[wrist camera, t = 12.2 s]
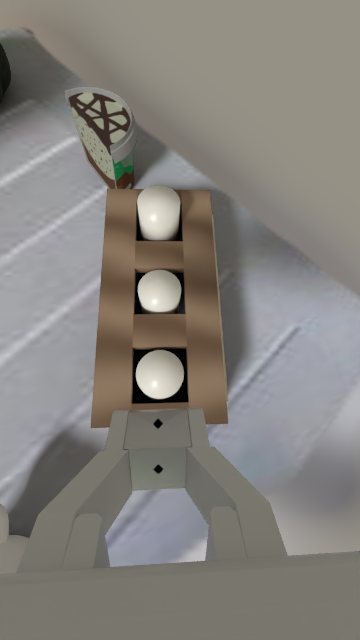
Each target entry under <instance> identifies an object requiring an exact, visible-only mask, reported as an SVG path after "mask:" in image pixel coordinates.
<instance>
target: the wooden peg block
mask: <svg viewBox="0 0 360 640" xmlns="http://www.w3.org/2000/svg"><path fill="white" fill-rule="evenodd" d="M143 190H144V189H107V201H106V215H105V229H104V244H103V258H102V272H101V287H100V301H99V316H98V330H97V344H96V359H95V373H94V387H93V402H92V416H91V428H106V427H110V423H111V419H112V414H113V412H114V410H158V409H183V408H202V409H203V413H204V418H205V424H228V416H227V403H226V390H225V378H224V365H223V352H222V339H221V327H220V314H219V301H218V288H217V276H216V263H215V250H214V237H213V225H212V212H211V199H210V190H174V191H175V192H176V193H177V194H178V196H179V198H180V215H179V228H178V237H177V239H176V241H144V240H143V239H142V236H141V230H140V222H139V213H138V205H137V199H138V196H139V195H140V193H141V192H142V191H143ZM154 270H165V271H168V272H170V273H184V300H185V314H135V276H136V273H149V272H151V271H154ZM134 349H186V355H187V383H188V402H186V403H149V404H132V394H133V355H134Z"/></svg>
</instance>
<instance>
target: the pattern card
mask: <svg viewBox="0 0 360 640" xmlns="http://www.w3.org/2000/svg"><path fill="white" fill-rule="evenodd" d="M212 225H213V237H214V250H215V263H216V276H217V288H218V301H219V314H220V327H221V339H222V352H223V365H224V378H225V390H226V402H227V401H228V388H227V376H226V364H225V355H224V343H223V330H222V318H221V316H222V314H221V302H220V289H219V281H218V268H217V256H216V244H215V231H214V219H213V213H212Z"/></svg>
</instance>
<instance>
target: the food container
mask: <svg viewBox="0 0 360 640" xmlns="http://www.w3.org/2000/svg"><path fill="white" fill-rule="evenodd" d="M65 97H66V101H67V105H68V106H69V107H70V110H71V113H72V116H73V119H74V122H75V125H76V128H77V131H78V134H79V137H80V140H81V143H82V146H83V149H84V152H85V155H86V158H87V161H88V163H89V164H90V165H91V167H92V168H93V169H94V171H95V172H96V173H97V174H98V176H99V177H100V178H101V180H102V181H103V182H104V183H105V185H106V186H107V187H108V188H109V189H132V187H133V185H134V162H133V148H134V146H135V144H136V142H137V137H138V130H137V126H136V123H135V120H134V116H133V114H132V112H131V110H130V109H129V107H128V105H127V104H126V102H125V101H124V100H123V99H122V98H120V97H119V96H118V95H116V94H114V93H112V92H110V91H108V90H105V89H101V88H95V87H78V88H73V89H69V90H66V91H65Z"/></svg>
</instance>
